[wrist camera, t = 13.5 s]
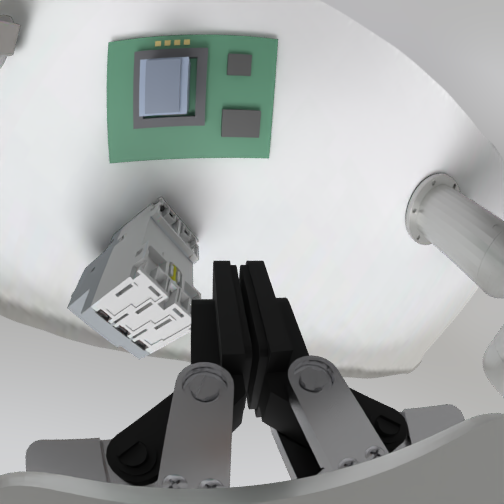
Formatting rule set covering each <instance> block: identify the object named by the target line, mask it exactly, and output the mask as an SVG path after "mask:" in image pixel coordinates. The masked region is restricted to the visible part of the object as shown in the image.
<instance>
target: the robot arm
mask: <svg viewBox="0 0 504 504" xmlns="http://www.w3.org/2000/svg"><path fill="white" fill-rule="evenodd" d="M406 227H407V231H408V233H409V235H410V236H411V238H412V239H413V240H414V241H416V242H417V243H419V244H422V245H429V244H433V245H434V246H435V247H437V248H438V249H439V250H440V251H441V252H442V253H443V254H445V255H446V256H447V257H448V258H449V259H450V260H451V261H452V262H453V263H455V264H456V265H457V266H458V267H459V268H460V269H461V270H462V271H463V272H464V273H465V274H466V275H467V276H468V277H469V278H470V279H472V280H473V281H474V282H475V283H476V284H477V285H478V286H479V287H480V288H481V289H482V290H483V291H484V292H485V293H486V294H488V295H489V296H491V297H494V298H504V221H503V220H502V219H500V218H499V217H497V216H496V215H494V214H493V213H491V212H490V211H488V210H487V209H485V208H484V207H482V206H481V205H479V204H477V203H476V202H474V201H473V200H471V199H469V198H468V197H466V196H465V195H463V194H461V193H460V189H459V186H458V184H457V183H456V181H455V180H454V179H453V178H451V177H450V176H448V175H446V174H441V173H440V174H434V175H431V176H430V177H428V178H426V179H425V180H424V181H423V182H422V183H421V184H420V185H419V186H418V187H417V189H416V190H415V192H414V193H413V195H412V197H411V199H410V202H409V205H408V208H407V213H406ZM483 368H484V372H485V374H486V376H487V378H488V380H489V381H490V382H491V384H492V385H493V387H495V389H496V390H497V391H498V392H499V393H500V394H501V395H502V396H503V397H504V325H503V326H502V328H501V329H500V331H499V332H498V333H497V335H496V336H495V338H494V339H493V340H492V342H491V343H490V345H489V346H488V348H487V350H486V351H485V354H484V357H483ZM246 397H247V403H248V408H249V409H255V414H256V417H262V422H264V423H266V424H267V425H269V426H270V427H271V432H272V435H273V437H274V440H275V442H276V444H277V447H278V449H279V451H280V454H281V456H282V459H283V461H284V463H285V466H286V468H287V470H288V473H289V475H290V477H291V480H289V481H283V482H277V483H270V484H263V485H254V486H245V487H232V488H230V466H231V465H230V464H231V441H232V432H233V431H234V430H235V429H236V428H237V427H238V426H239V425H240V424H241V422H242V416H243V410H244V408H245V401H246ZM0 504H504V414H501V413H491V414H483V415H479V416H475V417H472V418H470V419H467V420H465V419H464V416H463V414H462V412H461V411H460V410H459V409H458V408H457V407H455V406H453V405H448V404H446V405H438V406H431V407H422V408H413V409H404V410H403V411H402V412H398V411H396V410H395V409H393V408H391V407H388V406H386V405H384V404H382V403H380V402H378V401H376V400H374V399H371V398H369V397H367V396H365V395H363V394H361V393H359V392H357V391H355V390H353V389H351V388H349V387H348V385H347V384H346V382H345V380H344V379H343V377H342V376H341V374H340V372H339V371H338V369H337V368H336V367H335V366H334V364H333V363H331V362H330V361H328V360H327V359H324V358H322V357H319V356H312V355H311V356H309V354H308V351H307V349H306V346H305V343H304V340H303V338H302V335H301V332H300V330H299V327H298V324H297V322H296V319H295V316H294V314H293V311H292V308H291V306H290V303H289V301H288V299H287V298H276V297H275V294H274V291H273V288H272V285H271V282H270V279H269V276H268V273H267V270H266V267H265V264H264V262H263V261H247V262H246V265H241V266H240V275H239V277H238V272H237V267H236V265H230V261H214V262H213V299H192V301H191V365H189V366H187V367H186V368H184V369H183V370H182V371H181V372H180V373H179V375H178V377H177V380H176V383H175V388H174V392H173V393H172V394H171V395H169V396H168V397H167V398H165V399H164V400H163V401H162V402H160V403H159V404H158V405H156V406H155V407H154V408H152V409H151V410H150V411H148V412H147V413H146V414H145V415H143V416H142V417H141V418H139V419H138V420H137V421H135V422H134V423H133V424H131V425H130V426H129V427H127V428H126V429H124V430H123V431H122V432H120V433H119V434H117V435H116V436H115V437H114V438H113V439H111V440H100V438H91V439H68V440H38V441H35V442H33V443H32V444H31V445H30V446H29V448H28V449H27V452H26V472H14V473H7V474H4V475H0Z"/></svg>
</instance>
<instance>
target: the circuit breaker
mask: <svg viewBox="0 0 504 504" xmlns="http://www.w3.org/2000/svg"><path fill="white" fill-rule="evenodd" d="M158 200H159V202H158V203H157V204H155V205H154V204H153V203H152V204H151V205H149V206H148V207H147V208H146V209H144V210H143V211H142V212H141V213H139V214H138V215H137V216H136V217H134V218H133V219H132V220H131V221H129V222H128V223H127V224H126V225H125V226H123V227H122V228H121V229H120V230H119V231H117V232H116V233H115V234H114V235H113V238H112V240H111V244H109V246H108V248H107V250H106V251H104V252H103V253H102V254H101V255H100V256H99V257H97V258H96V259H95V260H94V261H93V262H92V263H91V264H89V265H88V266H87V267H86V268H85V270H84V272H83V274H82V276H81V278H80V280H79V282H78V285H77V287H76V289H75V291H74V292H73V294H72V296H71V297H72V298H71V300H70V303H69V305H68V307H67V308H68V309H69V310H70V311H71V312H73V313H74V314H75V315H76V316H77V317H79V318H80V319H81V320H82V321H83V322H85V323H86V324H87V325H88V326H90V327H91V328H92V329H93V330H95V331H96V332H97V333H99V334H100V335H101V336H102V337H104V338H105V339H106V340H108V341H109V342H110V343H112V344H113V345H114V346H116V347H117V348H118V347H119V346H122V347H123V348H124V349H126V350H127V351H128V352H130V353H131V354H133V355H134V356H135V357H137V358H138V359H141V358H143V357H145V356H147V355H149V354H151V353H153V352H154V351H156V350H158V349H160V348H162V347H164V346H165V345H167V344H169V343H171V342H173V341H174V340H176V339H178V338H180V337H182V336H183V335H185V334H187V333H189V332H190V331H191V305H190V304H191V301H192V299H201V294H200V293H199V292H198V291H197V290H196V289H195V288H194V287H193V263H194V264H195V263H196V262H197V261H198V260H199V246H198V245H197V242H198V239H197V238H196V237H195V236H194V235H193V234H192V232H191V231H190V230H189V229H188V228H187V227H186V225H185V224H184V223H183V222H182V221H181V220H180V218H179V217H178V216H177V215H176V214H175V212H174V211H173V210H172V209H171V208H170V206H169V205H168V204H167V203H166V202H165V201H164V199H163V198H162V197H160V198H159V199H158ZM162 205H163V206H164V207H165V208H166V209H165V210H163V211H162V212H161V211H160V207H161V206H162ZM169 212H170V213H171V214H172V216H173V217H171V216H170V215H169ZM175 220H176V221H175ZM184 230H185V231H186V232H187V234H186V233H185V232H184ZM193 251H194V252H193Z"/></svg>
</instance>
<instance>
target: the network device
mask: <svg viewBox="0 0 504 504" xmlns="http://www.w3.org/2000/svg"><path fill="white" fill-rule="evenodd" d="M20 26H21V25H19V24H15V23H14V22H13V19H12V18H11V17H10V16H7V15H1V16H0V69H1V67H2V66H3V64H4V62H5V60H6V57H7V56H12V55H13V54H14V49H15V45H16V41H17V37H18V33H19V30H20Z"/></svg>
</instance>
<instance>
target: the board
mask: <svg viewBox="0 0 504 504" xmlns="http://www.w3.org/2000/svg"><path fill="white" fill-rule="evenodd" d="M277 47H278V39H271V38H262V37H251V36H236V35H171V36H156V37H145V38H136V39H128V40H121V41H114V42H109V44H108V62H107V127H108V146H109V160H110V163H119V162H131V161H145V160H161V159H183V158H269V153H270V140H271V127H272V114H273V101H274V88H275V74H276V61H277ZM171 57H189V59H190V63H191V71H190V95H189V110H188V112H187V114H185V115H166V116H162V115H152V116H139V82H140V60H144V59H155V58H171Z"/></svg>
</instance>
